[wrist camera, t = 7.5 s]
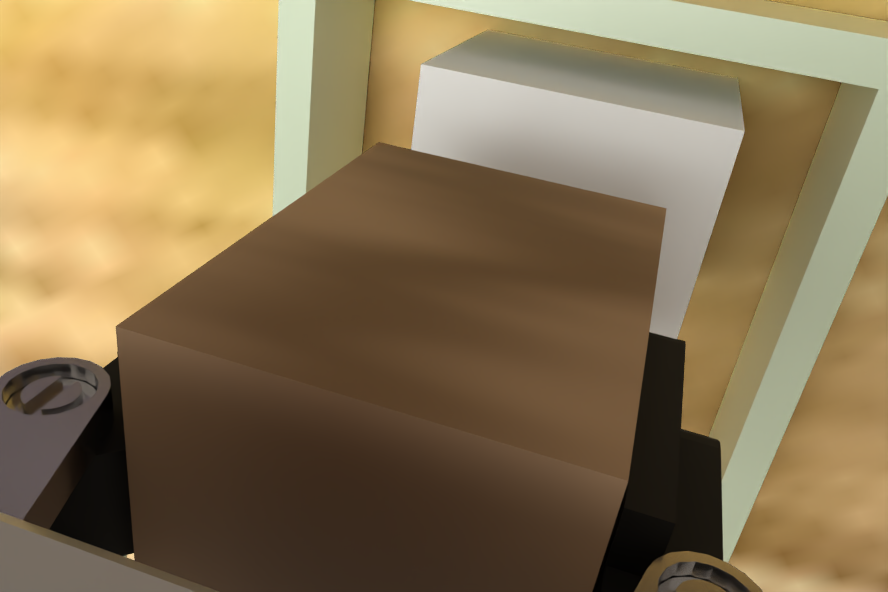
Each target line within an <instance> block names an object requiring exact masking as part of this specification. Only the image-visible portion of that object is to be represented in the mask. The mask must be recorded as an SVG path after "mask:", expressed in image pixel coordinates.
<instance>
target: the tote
mask: <svg viewBox="0 0 888 592" xmlns="http://www.w3.org/2000/svg"><path fill="white" fill-rule="evenodd" d="M411 1H416V2H421V3H427V4H432V5H437V6H442V7H448V8H453V9H458V10H464V11H469V12H474V13H479V14H485V15H490V16H495V17H500V18H506V19H511V20H516V21H522V22H527V23H532V24H537V25H543V26H548V27H553V28H558V29H564V30H569V31H574V32H580V33H585V34H590V35H595V36H601V37H606V38H611V39H616V40H622V41H627V42H632V43H637V44H643V45H648V46H653V47H659V48H664V49H669V50H674V51H680V52H685V53H690V54H695V55H701V56H706V57H711V58H717V59H722V60H727V61H732V62H738V63H743V64H748V65H753V66H759V67H764V68H769V69H774V70H780V71H785V72H790V73H796V74H801V75H806V76H811V77H817V78H822V79H827V80H832V81H838V82H842V83H841V86H840V88H839V91H838V94H837V96H836V99H835V102H834V104H833V107H832V109H831V112H830V115H829V117H828V120H827V123H826V125H825V128H824V131H823V133H822V136H821V139H820V141H819V144H818V147H817V149H816V152H815V155H814V157H813V160H812V163H811V165H810V168H809V171H808V173H807V176H806V179H805V181H804V184H803V187H802V189H801V192H800V195H799V197H798V200H797V203H796V205H795V208H794V211H793V213H792V216H791V218H790V221H789V224H788V226H787V229H786V232H785V234H784V237H783V240H782V242H781V245H780V248H779V250H778V253H777V256H776V258H775V261H774V264H773V266H772V269H771V272H770V274H769V277H768V280H767V282H766V285H765V288H764V290H763V293H762V296H761V298H760V301H759V304H758V306H757V309H756V312H755V314H754V317H753V320H752V322H751V325H750V327H749V330H748V333H747V335H746V338H745V341H744V343H743V346H742V349H741V351H740V354H739V357H738V359H737V362H736V365H735V367H734V370H733V373H732V375H731V378H730V381H729V383H728V386H727V389H726V391H725V394H724V397H723V399H722V402H721V405H720V407H719V410H718V413H717V415H716V418H715V421H714V423H713V426H712V429H711V431H710V434H709V436H708V437H711V438H714V439H718V440H719V441H720V446H721V477H722V524H723V561H725V562H727V563H728V562H729V559H730V557H731V555H732V553H733V550H734V548H735V546H736V543H737V541H738V539H739V536H740V534H741V532H742V530H743V527H744V525H745V523H746V520H747V518H748V516H749V513H750V511H751V509H752V507H753V504H754V502H755V500H756V497H757V495H758V493H759V490H760V488H761V486H762V484H763V481H764V479H765V477H766V474H767V472H768V470H769V467H770V465H771V463H772V461H773V458H774V456H775V454H776V451H777V449H778V447H779V444H780V442H781V440H782V438H783V435H784V433H785V431H786V428H787V426H788V424H789V421H790V419H791V417H792V415H793V412H794V410H795V408H796V405H797V403H798V401H799V398H800V396H801V394H802V392H803V389H804V387H805V385H806V382H807V380H808V378H809V375H810V373H811V371H812V369H813V366H814V364H815V362H816V359H817V357H818V355H819V352H820V350H821V348H822V346H823V343H824V341H825V339H826V336H827V334H828V332H829V329H830V327H831V325H832V323H833V320H834V318H835V316H836V313H837V311H838V309H839V306H840V304H841V302H842V300H843V297H844V295H845V293H846V290H847V288H848V286H849V283H850V281H851V279H852V277H853V274H854V272H855V270H856V267H857V265H858V263H859V260H860V258H861V256H862V254H863V251H864V249H865V247H866V244H867V242H868V240H869V237H870V235H871V233H872V231H873V228H874V226H875V224H876V221H877V219H878V217H879V214H880V212H881V210H882V208H883V205H884V203H885V201H886V198H887V196H888V21H883V20H878V19H872V18H866V17H860V16H854V15H849V14H843V13H837V12H831V11H825V10H820V9H814V8H808V7H802V6H796V5H791V4H785V3H779V2H773V1H767V0H411ZM374 5H375V0H279V12H278V48H277V83H276V118H275V153H274V189H273V216H274V215H276V214H277V213H278V212H280V211H281V210H283V209H284V208H285V207H287V206H288V205H290V204H291V203H293V202H294V201H295V200H297V199H298V198H300V197H301V196H303V195H304V194H305V193H307V192H308V191H310V190H311V189H313V188H314V187H315V186H317V185H318V184H320V183H321V182H323V181H324V180H325V179H327V178H328V177H330V176H331V175H333V174H334V173H335V172H337V171H338V170H340V169H341V168H343V167H344V166H345V165H347V164H348V163H350V162H351V161H353V160H354V159H355V158H357V157H358V156H360V155H361V154H362V147H363V135H364V123H365V112H366V100H367V88H368V76H369V64H370V53H371V41H372V29H373V17H374Z"/></svg>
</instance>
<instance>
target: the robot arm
mask: <svg viewBox="0 0 888 592" xmlns="http://www.w3.org/2000/svg"><path fill="white" fill-rule="evenodd" d="M117 353H118V352H117ZM684 362H685V341H682V340H678V339H674V338H670V337H666V336H663V335H659V334H655V333H651V332H649V337H648V344H647V352H646V359H645V366H644V373H643V380H642V387H641V394H640V401H639V408H638V416H637V423H636V430H635V437H634V444H633V451H632V458H631V465H630V472H629V480H628V483H627V487H626V490H625V493H624V496H623V499H622V502H621V505H620V508H619V511H618V514H617V517H616V520H615V523H614V526H613V530H612V533H611V536H610V539H609V542H608V545H607V548H606V551H605V554H604V557H603V560H602V563H601V566H600V569H599V573H598V576H597V579H596V582H595V585H594V588H593V591H592V592H763V591H762V590H761V588H760V587H759V586H757V585H756V584H755V583H754V582H753V581H752V580H751V579H750V578H749V577H748V576H747V575H746V574H745V573H743V572H741V571H740V570H738V569H737V568H735V567H734V566H732V565H730V564H729V563H727V562H725V561H723V524H722V477H721V446H720V441H719V440H718V439H714V438H711V437H707V436H704V435H700V434H696V433H693V432H689V431H686V430H682V429H681V417H682V398H683V380H684ZM132 553H134V545H133V533H132V520H131V508H130V496H129V483H128V471H127V458H126V446H125V434H124V421H123V409H122V396H121V384H120V371H119V359H118V357H117V358H116V359H114V360H113V361H112V362H110V363H109V364H108V365H107V366H105V367H104V368H102V367H101V366H99V365H97V364H95V363H93V362H91V361H87V360H82V359H78V358H62V357H57V358H49V359H41V360H37V361H33V362H30V363H26V364H23V365H20V366H18V367H16V368H14V369H12V370H10V371H8V372H6V373H5V374H4V375H3V376H1V377H0V592H219V591H216V590H213V589H211V588H208V587H205V586H202V585H200V584H197V583H194V582H191V581H189V580H186V579H183V578H181V577H178V576H175V575H172V574H170V573H167V572H164V571H161V570H159V569H156V568H153V567H150V566H148V565H145V564H142V563H140V562H137V561H134V560H131V559H129V558H126V557H127V555H128V554H132Z"/></svg>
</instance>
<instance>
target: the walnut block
mask: <svg viewBox="0 0 888 592" xmlns="http://www.w3.org/2000/svg"><path fill="white" fill-rule="evenodd" d="M666 209H667V208H663V207H658V206H654V205H650V204H645V203H641V202H637V201H632V200H628V199H624V198H619V197H615V196H611V195H606V194H602V193H598V192H593V191H589V190H584V189H580V188H576V187H571V186H567V185H563V184H558V183H554V182H550V181H545V180H541V179H537V178H532V177H528V176H524V175H519V174H515V173H510V172H506V171H502V170H497V169H493V168H489V167H484V166H480V165H476V164H471V163H467V162H463V161H458V160H454V159H450V158H445V157H441V156H436V155H432V154H428V153H423V152H419V151H415V150H410V149H406V148H402V147H397V146H393V145H389V144H384V143H380V142H378V143H377V144H375V145H374V146H373V147H371V148H370V149H368V150H367V151H365V152H364V153H363V154H361V155H360V156H358V157H357V158H355V159H354V160H353V161H351V162H350V163H348V164H347V165H345V166H344V167H343V168H341V169H340V170H338V171H337V172H335V173H334V174H333V175H331V176H330V177H328V178H327V179H325V180H324V181H323V182H321V183H320V184H318V185H317V186H315V187H314V188H313V189H311V190H310V191H308V192H307V193H305V194H304V195H303V196H301V197H300V198H298V199H297V200H295V201H294V202H293V203H291V204H290V205H288V206H287V207H285V208H284V209H283V210H281V211H280V212H278V213H277V214H276V215H274V216H273V217H271V218H270V219H268V220H267V221H266V222H264V223H263V224H261V225H260V226H258V227H257V228H256V229H254V230H253V231H251V232H250V233H248V234H247V235H246V236H244V237H243V238H241V239H240V240H238V241H237V242H236V243H234V244H233V245H231V246H230V247H228V248H227V249H226V250H224V251H223V252H221V253H220V254H218V255H217V256H216V257H214V258H213V259H211V260H210V261H208V262H207V263H206V264H204V265H203V266H201V267H200V268H198V269H197V270H196V271H194V272H193V273H191V274H190V275H188V276H187V277H186V278H184V279H183V280H181V281H180V282H178V283H177V284H176V285H174V286H173V287H171V288H170V289H168V290H167V291H166V292H164V293H163V294H161V295H160V296H159V297H157V298H156V299H154V300H153V301H151V302H150V303H149V304H147V305H146V306H144V307H143V308H141V309H140V310H139V311H137V312H136V313H134V314H133V315H131V316H130V317H129V318H127V319H126V320H124V321H123V322H121V323H120V324H119V325H117V326H116V334H117V347H118V359H119V371H120V384H121V396H122V409H123V421H124V434H125V446H126V458H127V471H128V483H129V496H130V508H131V520H132V533H133V545H134V558H135V561H137V562H140V563H142V564H145V565H148V566H150V567H153V568H156V569H159V570H161V571H164V572H167V573H170V574H172V575H175V576H178V577H181V578H183V579H186V580H189V581H191V582H194V583H197V584H200V585H202V586H205V587H208V588H211V589H213V590H216V591H219V592H592V591H593V588H594V585H595V582H596V579H597V576H598V573H599V569H600V566H601V563H602V560H603V557H604V554H605V551H606V548H607V545H608V542H609V539H610V536H611V533H612V530H613V526H614V523H615V520H616V517H617V514H618V511H619V508H620V505H621V502H622V499H623V496H624V493H625V490H626V487H627V483H628V480H629V472H630V465H631V458H632V451H633V444H634V437H635V430H636V423H637V416H638V408H639V401H640V394H641V387H642V380H643V373H644V366H645V359H646V352H647V344H648V337H649V330H650V323H651V316H652V309H653V302H654V295H655V288H656V280H657V273H658V266H659V259H660V252H661V245H662V238H663V231H664V224H665V216H666Z"/></svg>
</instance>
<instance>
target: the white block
mask: <svg viewBox="0 0 888 592" xmlns="http://www.w3.org/2000/svg"><path fill="white" fill-rule="evenodd" d="M744 132H745V128H744V121H743V113H742V105H741V97H740V89H739V82H738V78H736V77H730V76H725V75H720V74H715V73H710V72H705V71H700V70H694V69H689V68H684V67H679V66H674V65H669V64H663V63H658V62H653V61H648V60H643V59H638V58H632V57H627V56H622V55H617V54H612V53H607V52H602V51H596V50H591V49H586V48H581V47H576V46H571V45H565V44H560V43H555V42H550V41H545V40H540V39H534V38H529V37H524V36H519V35H514V34H509V33H504V32H498V31H493V30H486V31H484V32H482V33H480V34H479V35H477V36H475V37H473V38H471V39H469V40H467V41H465V42H463V43H461V44H459V45H457V46H455V47H453V48H451V49H449V50H448V51H446V52H444V53H442V54H440V55H438V56H436V57H434V58H432V59H430V60H428V61H426V62H424V63H422V64H421V69H420V78H419V87H418V95H417V104H416V112H415V121H414V130H413V138H412V147H411V150H415V151H419V152H423V153H428V154H432V155H436V156H441V157H445V158H450V159H454V160H458V161H463V162H467V163H471V164H476V165H480V166H484V167H489V168H493V169H497V170H502V171H506V172H510V173H515V174H519V175H524V176H528V177H532V178H537V179H541V180H545V181H550V182H554V183H558V184H563V185H567V186H571V187H576V188H580V189H584V190H589V191H593V192H598V193H602V194H606V195H611V196H615V197H619V198H624V199H628V200H632V201H637V202H641V203H645V204H650V205H654V206H658V207H663V208H667V209H666V216H665V224H664V231H663V238H662V245H661V252H660V259H659V266H658V273H657V280H656V288H655V295H654V302H653V309H652V316H651V323H650V330H649V332H651V333H655V334H659V335H663V336H666V337H670V338H674V339H677V338H678V335H679V331H680V328H681V325H682V322H683V319H684V316H685V313H686V310H687V307H688V304H689V301H690V298H691V295H692V292H693V289H694V286H695V282H696V279H697V276H698V273H699V270H700V267H701V264H702V261H703V258H704V255H705V252H706V249H707V246H708V243H709V240H710V236H711V233H712V230H713V227H714V224H715V221H716V218H717V215H718V212H719V209H720V206H721V203H722V200H723V197H724V194H725V191H726V187H727V184H728V181H729V178H730V175H731V172H732V169H733V166H734V163H735V160H736V157H737V154H738V151H739V148H740V145H741V142H742V138H743V135H744Z"/></svg>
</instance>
